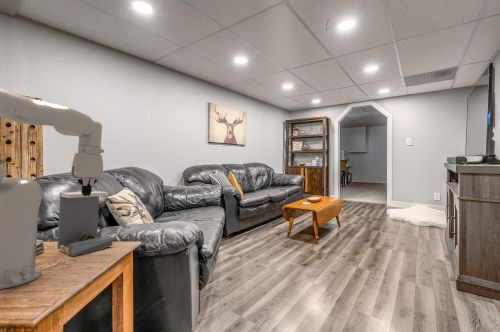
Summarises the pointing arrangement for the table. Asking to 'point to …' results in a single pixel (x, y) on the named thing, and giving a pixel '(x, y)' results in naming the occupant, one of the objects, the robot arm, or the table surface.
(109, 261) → the table surface
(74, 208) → the upright grey panel
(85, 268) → the table surface
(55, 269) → the table surface
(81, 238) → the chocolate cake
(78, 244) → the long grey base block
